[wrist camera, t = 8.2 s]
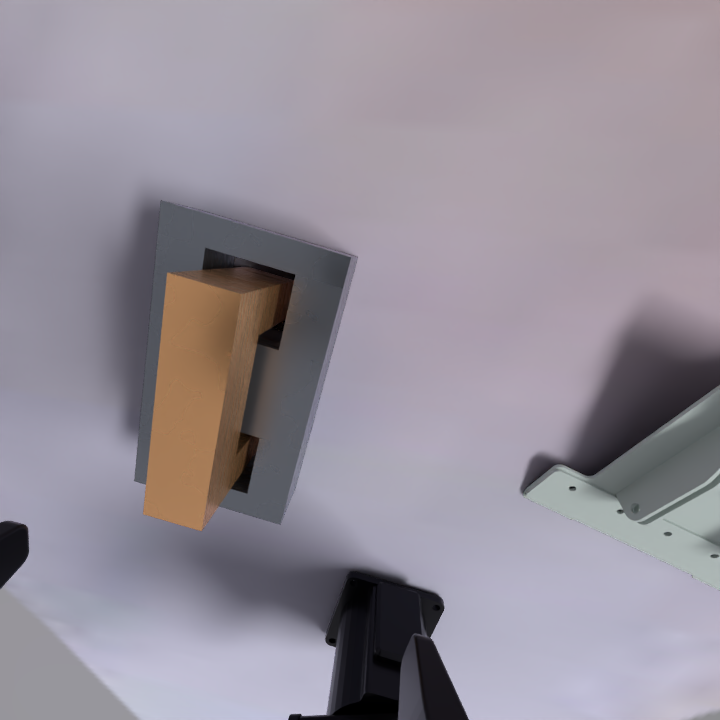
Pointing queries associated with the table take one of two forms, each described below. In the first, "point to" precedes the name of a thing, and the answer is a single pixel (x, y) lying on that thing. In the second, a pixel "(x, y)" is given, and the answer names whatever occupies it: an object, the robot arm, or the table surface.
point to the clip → (206, 387)
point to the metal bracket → (654, 493)
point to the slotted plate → (274, 347)
